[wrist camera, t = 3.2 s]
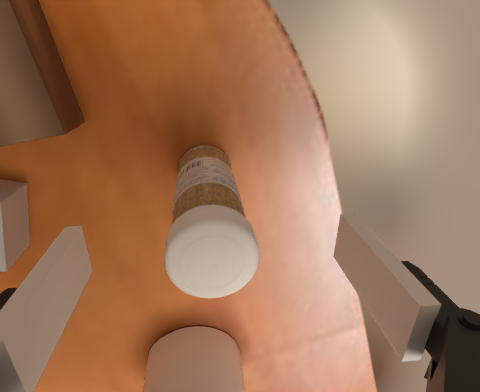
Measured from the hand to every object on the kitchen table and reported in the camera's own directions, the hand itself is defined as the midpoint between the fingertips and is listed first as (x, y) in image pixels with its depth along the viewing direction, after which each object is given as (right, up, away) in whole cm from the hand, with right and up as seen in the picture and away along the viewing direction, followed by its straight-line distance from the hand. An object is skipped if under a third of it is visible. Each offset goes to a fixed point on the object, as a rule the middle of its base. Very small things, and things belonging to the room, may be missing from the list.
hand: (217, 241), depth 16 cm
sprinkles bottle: (-2, +5, +11) cm, 12 cm away
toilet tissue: (-4, -17, +21) cm, 27 cm away
